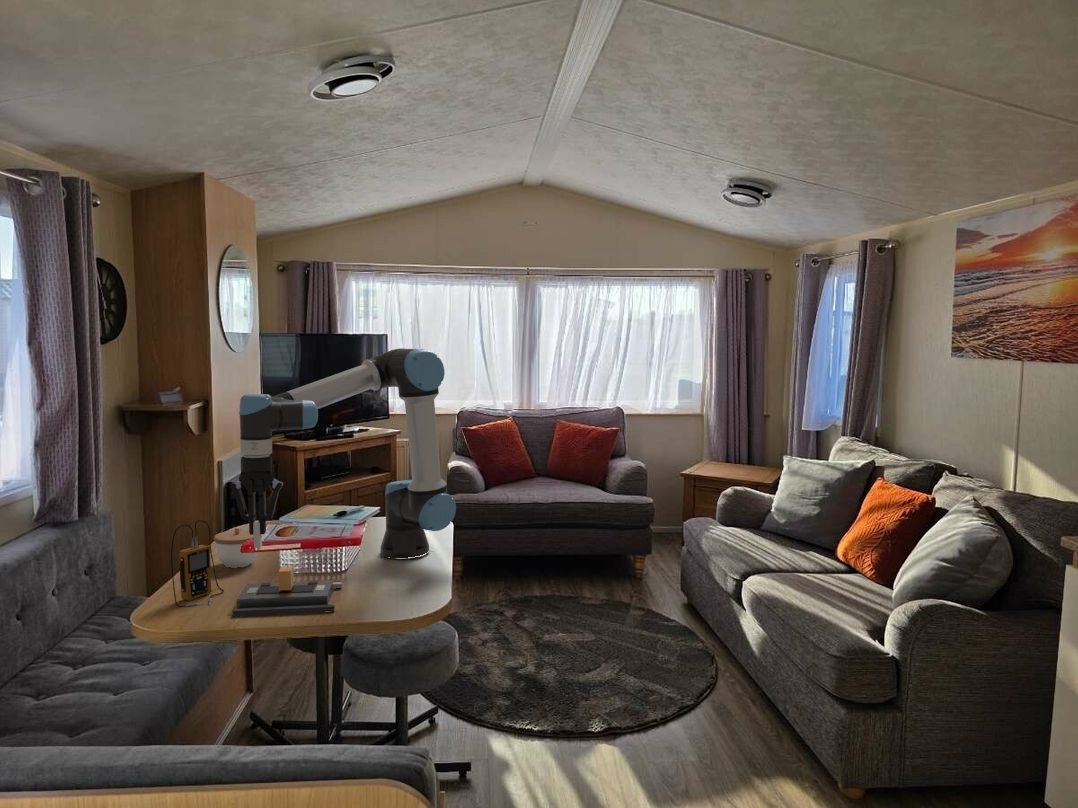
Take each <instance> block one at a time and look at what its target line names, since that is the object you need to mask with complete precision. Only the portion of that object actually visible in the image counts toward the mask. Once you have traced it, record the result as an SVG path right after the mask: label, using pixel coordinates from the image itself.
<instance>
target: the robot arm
mask: <svg viewBox="0 0 1078 808" xmlns="http://www.w3.org/2000/svg"><path fill="white" fill-rule="evenodd" d="M444 378H445V366H444V364H443V361H442V359H441V358H440V357H439V355H438V354H436V353H435V352H433V351H432V350H428V349H424V348H395V349H394V348H393V349H392V350H388V351H385V352H383V353H381V354H378V355H376V356H375V355H374V356H373V357H370V358H367V359H365V360H363V361H362V362H361V365H358V366H355V367H353V368H350V369H349V368H348V369H347V370H344V371H341V372H339V373H335V374H333V375H331V376H326V377H325V378H322V379H319V380H316V381H313V382H311V383H308V384H305V385H301V386H299V387H296V388H294V389H291V390H288V391H285V392H283V393H279V394H276V395H272V396H271V394H268V393H266V394H264V393H251V394H244V395H242V396H241V397H240V399H239V401H240V402H239V412H238V413H239V431H240V434H239V435H240V437H239V438H240V439H239V443H240V445H239V446H240V447H239V449H240V452H239V453H240V455H242V456H241V457H240V474H239V476H238V479H237V480H236V481H233V482H231V483H230V484H229V488H230V489H231V491H232V492H233V493H234V497H235V501H236V505H237V508H238V512H239V515H240V519H241V520H242V521H246V522H248V530H249V533H250V535H254V548H259V549H261V548H262V546H263V535H265V534H266V532H267V521H271V520H272V519H273V517H274V516H275V511H276V507H277V502H278V499H279V494H280V490H281V489H282V487H283V486H284V481H282V480H280V481H279V480H278V479H276V478H275V477H276V476H275V475H274V473H273V456H272V455H271V454H273V432H274V431H275V432H276V431H287V430H290V431H292V430H304V429H312V428H314V427H315V426H317V425H316V424H317V423H318V420H319V411H318V409H321V408H324V407H327V406H329V405H332V404H334V403H338V402H341V401H343V400H345V399H348V398H350V397H353V396H355V395H358V394H361V393H363V392H367V391H369V390H372V391H378V390H381V389H385V388H392V387H393V388H397V391H398V398H400V400H402V401H404V407H405V408H404V409H405V419H406V429H407V437H408V439H407V440H408V450H409V461H410V474H411V479H406V480H397V481H396V480H395V481H391V482H388V483H387V484H386V485H385V491H384V493H385V494H384V497H385V531H384V534H383V538H382V541H381V543H380V544H381V545H380V555H381V556H382V555H383V556H384V557H383V556H382V557H383V558H385V557H390V558H408V557H415V556H420V555H423V554H425V553H427V552H428V551H429V552H430V544H429V541H428V538H427V535H426V532H425V531H430V532H440V531H442V530H444V529H446V528H447V527H448V526H449V525H450V524H451V522H452V521H453V520H454V518H455V516H456V511H457V504H456V500H455V499H454V498H453V497H452V496H451V494H448V486H447V483H448V482H446V481H445V480H444V479H443V478H442V475H441V474H442V473H441V472H442V471H441V463H440V451H439V441H438V439H439V438H438V427H437V418H436V417H437V415H436V407H435V404H436V403H435V399H436V398H437V397H438V395H439V394H440V393H439V392H440V391H439V387H440V386H441V384H442V381H444ZM271 485H272V488H273V490H272V493H271V496H270V497H271V498H270V501H269V506H268V511H267V490H268V488H269V487H270V486H271ZM242 486H243V488H244V489H246V491H247V499H248V502H247V505H248V509H247V505H246V503H245V498H244V495H243V491H242V489H241V488H242ZM256 493H258V515H259V517H258V520H256V519H257V515H256Z"/></svg>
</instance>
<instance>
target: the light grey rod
mask: <svg viewBox="0 0 1078 808" xmlns="http://www.w3.org/2000/svg"><path fill="white" fill-rule="evenodd" d="M336 588H342V589H343V582H341V581H340V582H339V581H338V582H337V581H336V582H334V581H333V590H337V589H336Z"/></svg>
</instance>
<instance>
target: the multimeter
mask: <svg viewBox="0 0 1078 808" xmlns="http://www.w3.org/2000/svg"><path fill="white" fill-rule="evenodd" d="M198 522H203V523H205V524H206V526H207V528H208V531H209V532H208V534H209V535H208V536H209V537H208V539H209V541H208V542H209V545H206V544H200V545H198V544H199V543H198V536H197V523H198ZM182 527H188V528H189V529H190V530H191V547H189V548H185V549H181V550H179V551H178V552H179V553H178V555H179V581H180V582H179V583H180V593H181V594H180V595H181V597H180V598H181V599H182V600H184V601H185V600H186V601H189V602H190V601H193V600H194V599H197V598H200V597H203V596H209V595H210V594H211V593H212V571H211V570H212V567H213V575H214V579H215V583H216V586H217V588H218V589H219V588H220V589H219V590H221V589H222V591H221V592H220V593H215V594H212V595H210V596H209V601H208V603H209V605H211V603H212V597H213V596H218V595H221V594H223V593H224V592H225V590H224V589H223V588H221V587H220V586H219V584H218V580H217V575H216V569H215V564H214V558H213V555H212V553H213V552H212V545H211V529H210V526H209V523H207V522H206V521H205V520H200V519H199V520H196V522H195V523H194V529H195V542H194V530H193V528H192V526H191V525H188V524H181V525H179V526H178V527H177V528H176V529H175V531H174V533H173V536H172V542H171V547H170V548H171V553H170V556H171V557H170V558H171V559H170V560H171V561H170V563H171V564H170V567H171V576H172V588H173V594H174V601H175V602H174V603H175V605H176V607H178V608H182V607H191V606H198V605H202V604H203V605H204V602H200V603H198V602H196V603H188V604H184V605H178V603H177V598H176V588H175V581H174V570H173V569H174V568H173V546H174V541H175V539H174V538H175V537H176V536H175V535H176V533H177V530H178V529H180V528H182ZM211 561H212V564H211ZM211 566H212V567H211ZM210 602H211V603H210Z"/></svg>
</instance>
